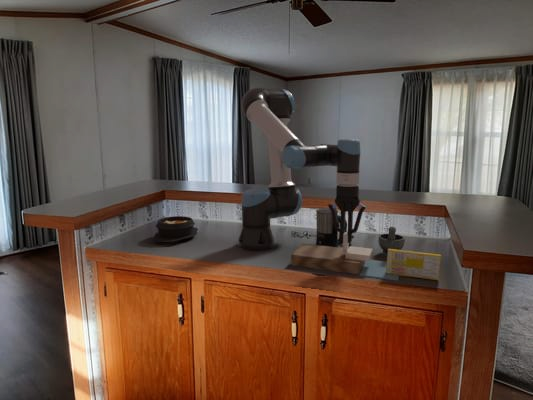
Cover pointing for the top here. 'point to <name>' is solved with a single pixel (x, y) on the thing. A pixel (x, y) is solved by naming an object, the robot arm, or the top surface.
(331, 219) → the milk frother
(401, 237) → the mortar and pestle
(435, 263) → the candy box
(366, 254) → the tile
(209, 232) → the top surface
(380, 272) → the mat
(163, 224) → the casserole
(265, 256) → the top surface
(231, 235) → the top surface
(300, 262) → the panel
